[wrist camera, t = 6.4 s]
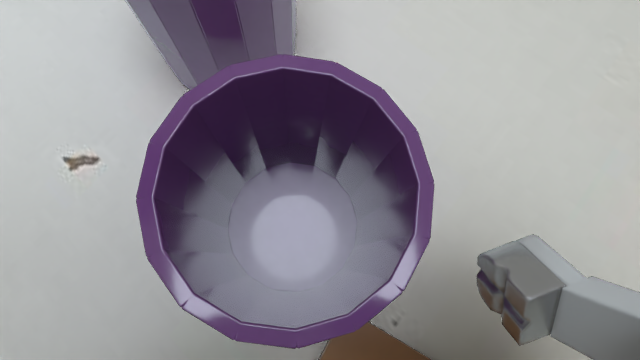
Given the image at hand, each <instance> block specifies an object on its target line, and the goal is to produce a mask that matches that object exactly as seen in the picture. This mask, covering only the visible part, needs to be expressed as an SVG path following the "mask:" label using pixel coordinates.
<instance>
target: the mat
mask: <svg viewBox="0 0 640 360" xmlns="http://www.w3.org/2000/svg"><path fill="white" fill-rule="evenodd" d="M319 360H431V359H430V358H428V357H426V356H425V355H423V354H421V353H420V352H418V351H416V350H415V349H413V348H411V347H410V346H408V345H406V344H405V343H403V342H401V341H399V340H398V339H396V338H394V337H393V336H391V335H389V334H388V333H386V332H384V331H383V330H381V329H379V328H378V327H376V326H374V325H373V324H371V323H369V322H367V323H366V324H365V325H364V326H363V327H361V328H360V329H359V330H356V331H355V332H353V333H350V334H346V335H343V336H339V337H336V338H333V339H330V340H329V341H328V343H327V345H326V347H325V349H324V351H323V353H322V354H321V356H320V358H319Z"/></svg>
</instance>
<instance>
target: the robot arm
mask: <svg viewBox="0 0 640 360" xmlns="http://www.w3.org/2000/svg"><path fill="white" fill-rule="evenodd" d="M477 265H478V266H479V267H480V268H481V270H480V272H479V273H478V274H477V287H478V290H479V293H480V295H481V297H482V299H483V300H484V302H485V303H486V305H487V306H488V307H489V308H490V310H492V311H494V312H497V313H499V314H501V315H502V325H503V326H504V327H505V328H506V330H507V331H508V332H509V333H510V335H511V336H512V337H513V338H514V340H515V341H516V342H517V343H518V345H519V346H521V345H524V344H526V343H529V342H532V341H534V340H537V339H539V338H542V337H545V336H547V335H550V334H551V337H553V338H555V339H556V340H558V341H560V342H562V343H564V344H566V345H567V346H569V347H571V348H573V349H575V350H577V351H578V352H580V353H582V354H584V355H586V356H588V357H589V358H591V359H593V360H640V292H637V291H634V290H631V289H628V288H625V287H622V286H619V285H617V284H614V283H611V282H608V281H605V280H602V279H599V278H596V277H593V276H591V277H589V278H586V277H585V276H584V275H583V274H582V273H580V272H579V271H578V270H577V269H576V268H575V267H573V266H572V265H571V264H570V263H569V262H568V261H566V260H565V259H564V258H563V257H562V256H561V255H559V254H558V253H557V252H556V251H555V250H554V249H553V248H551V247H550V246H549V245H548V244H547V243H546V242H544V241H543V240H542V239H541V238H540V237H539V236H536V235H534V234H532V235H529V236H526V237H524V238H521V239H519V240H516V241H512V242H509V243H507V244H504V245H502V246H499V247H497V248H494V249H492V250H489V251H487V252H484V253H481V254H480V255H479V256H478V260H477Z"/></svg>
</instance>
